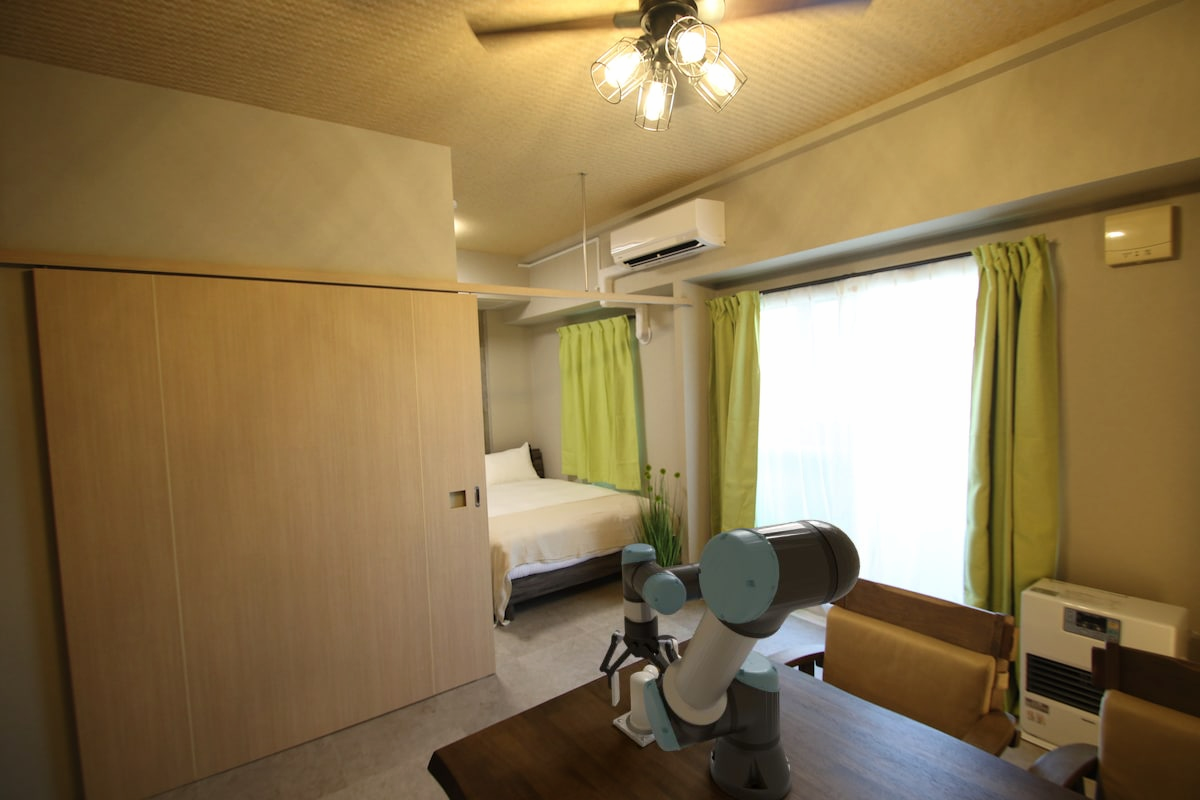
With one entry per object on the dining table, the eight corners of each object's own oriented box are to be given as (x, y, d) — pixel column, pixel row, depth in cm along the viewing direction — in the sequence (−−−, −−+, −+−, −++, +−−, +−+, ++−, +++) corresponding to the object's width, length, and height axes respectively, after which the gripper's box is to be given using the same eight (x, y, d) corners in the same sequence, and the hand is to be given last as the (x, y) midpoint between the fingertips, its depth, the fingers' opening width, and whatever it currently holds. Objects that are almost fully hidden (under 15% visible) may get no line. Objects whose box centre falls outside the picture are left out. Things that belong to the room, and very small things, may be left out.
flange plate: (676, 727, 117) (676, 723, 117) (642, 747, 111) (642, 743, 111) (646, 706, 125) (645, 702, 125) (613, 723, 119) (613, 719, 119)
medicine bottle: (648, 681, 135) (646, 635, 135) (671, 674, 138) (670, 629, 138) (662, 696, 129) (661, 648, 128) (687, 687, 132) (685, 641, 131)
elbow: (653, 733, 114) (651, 688, 114) (626, 727, 116) (624, 683, 116) (665, 708, 123) (663, 666, 122) (639, 703, 125) (638, 661, 125)
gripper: (700, 615, 116) (703, 710, 117) (596, 601, 126) (599, 688, 126) (692, 630, 109) (695, 731, 110) (582, 614, 119) (586, 707, 119)
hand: (644, 708), depth 118 cm, fingers open, 13 cm apart
